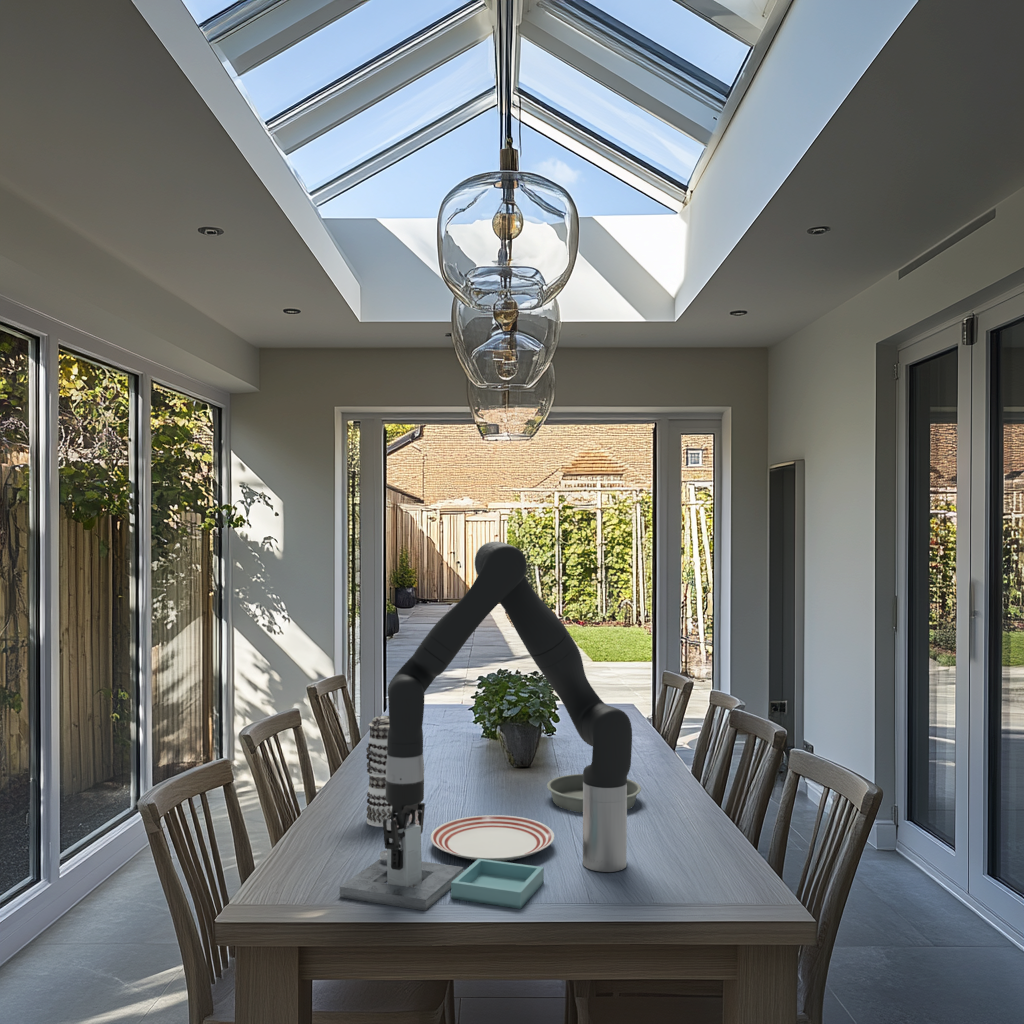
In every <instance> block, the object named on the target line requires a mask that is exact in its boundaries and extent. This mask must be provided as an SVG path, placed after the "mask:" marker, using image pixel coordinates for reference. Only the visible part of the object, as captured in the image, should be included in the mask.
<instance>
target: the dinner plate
mask: <svg viewBox="0 0 1024 1024" xmlns="http://www.w3.org/2000/svg"><path fill="white" fill-rule="evenodd" d="M554 841H555V833H554V831H553V830H552V829H551V828H550V827H549V826H547V825H546V824H544V823H542V822H540V821H537V820H534V819H530V818H527V817H522V816H515V815H514V816H513V815H503V814H502V815H501V814H500V815H499V814H497V815H496V814H494V815H493V814H491V815H489V814H487V815H475V816H466V817H462V818H457V819H453V820H450V821H447V822H445V823H443V824H440V825H438V827H436V828H435V829H434V830H433V831H432V833H431V834H430V842H431V843H432V844H433V846H434V847H436V848H437V849H439V850H441V851H442V852H445V853H447V854H451V855H453V856H456V857H459V858H461V859H462V858H463V859H467V860H470V859H471V860H470V861H475V860H477V859H486V860H493V861H501V862H508V861H507V860H510V861H515V860H519V859H522V858H526V857H529V856H532V855H535V854H536V853H539V852H542V851H543V850H545V849H546V848H548V847H549V846H551V844H552V843H554ZM518 858H519V859H518ZM514 859H515V860H514Z"/></svg>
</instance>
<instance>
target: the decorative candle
mask: <svg viewBox="0 0 1024 1024" xmlns="http://www.w3.org/2000/svg"><path fill="white" fill-rule="evenodd" d="M368 726H369V736H368V737H369V738H368V744H367V747H366V753H367V754H366V759H367V760H368V762H366V767H367V769H366V773H367V775H369V780H368V781H369V783H368V791H367V793H366V797H368V798H367V799H366V803H367V804H368V805H367V806H366V811H367V813H366V824H368V825H369V826H372V827H378V828H383V820H384V819H390V818H391V812H392V805H391V804H389V803H387V801H386V762H387V740H388V730H389V715H378V716H375V717H373V718H372V720H371V722H369V723H368Z"/></svg>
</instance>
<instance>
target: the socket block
mask: <svg viewBox="0 0 1024 1024" xmlns="http://www.w3.org/2000/svg"><path fill="white" fill-rule="evenodd" d="M421 863H422V882H421V883H420V884H418V885H417V886H416V887H415V888H413V887H406V886H399V885H392V884H387V883H386V882H387V849H386V850H382V851H381V852H380V853H379V859H378V860H377V861H375V862H374V863H372V864H370V865H369V866H367V867H366V868H365V869H363V870H362V871H360V872H358V874H356V875H354V876H353V877H351V878H350V879H349V880H347V881H345V882H344V883H343V884H341V885H340V886H339V898H343V899H349V900H356V901H360V902H361V901H362V902H368V903H373V904H381V905H386V906H392V907H393V906H394V907H400V908H405V909H413V910H418V911H428V910H429V908H430V907H432V906H433V905H434V904H435V903H436V902H437V901H439V900H440V899H441V898H442V897H443V896H445V894H446V893H448V892H449V891H451V882H452V881H453V880H454V879H456V878H457V877H458V876H459V875H460V874H461V873H462V872H464V871H465V869H464V866H459V865H450V864H443V863H437V862H430V861H429V862H428V861H422V860H421Z"/></svg>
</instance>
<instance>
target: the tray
mask: <svg viewBox="0 0 1024 1024" xmlns="http://www.w3.org/2000/svg"><path fill="white" fill-rule="evenodd" d="M544 870H545V868H544V867H543V866H538V865H537V866H536V865H530V864H522V863H513V862H508V861H501V862H500V861H493V860H486V859H477V860H476V861H475V860H474V862H472V864H470V865H469V867H468V866H467V868H466V869H464V872H462V873H461V874H460V875H459V876H458V877H457V878H456V879H454V880H453V881H452V882H451V889H450V899H453V900H459V901H465V902H471V903H480V904H485V905H492V906H499V907H505V908H512V909H518V910H519V909H520V910H521V909H522V908H523V907H524V906H525V904H526V903H527V902H528V901H529V900H530V899H531V897H532V896H533V895H534V894H535V893H536V892H537V891H538V889H540V888H541V886H543V884H544V880H545V879H544V878H545V877H544V876H545V875H544V874H545V873H544Z"/></svg>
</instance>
